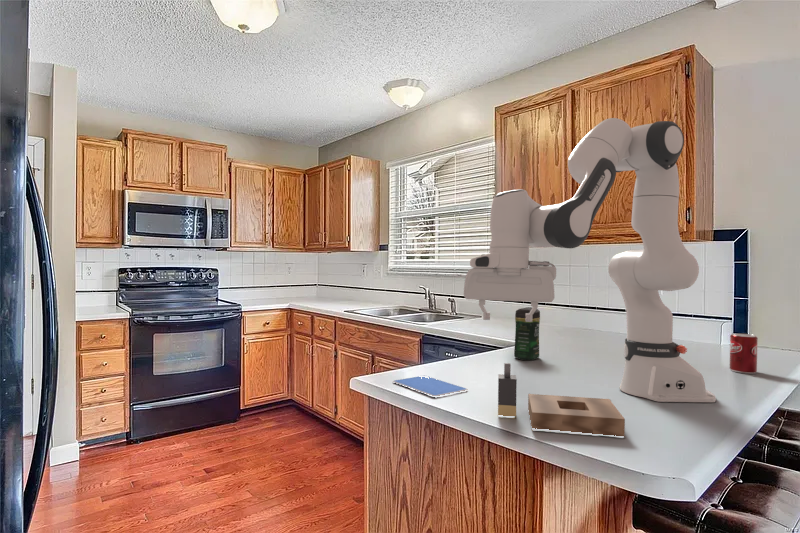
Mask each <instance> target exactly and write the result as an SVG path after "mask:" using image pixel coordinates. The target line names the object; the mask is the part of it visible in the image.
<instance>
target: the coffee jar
mask: <svg viewBox="0 0 800 533" xmlns="http://www.w3.org/2000/svg"><path fill="white" fill-rule="evenodd" d="M532 308H533V307H532V306H531V307H530V306H527V307H521V308H518V309H516V311H515V316H514V320H515V321H514V322H515V333H514V334H515V336H514V349H513V350H514V354H513V356H514V358H516V359H518V360H521V361H525V360H527V361H533V360H537V359H538V358H539V357H540V321H541V312H540V310H539V308H537V309H536V311H535V312H534V314H532V322H526V321H525V318H526V316H525V315H526V313H530V311H531V310H532Z"/></svg>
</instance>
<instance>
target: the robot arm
mask: <svg viewBox="0 0 800 533" xmlns="http://www.w3.org/2000/svg"><path fill="white" fill-rule="evenodd" d="M684 144H685V138H684V133H683V130H682V129H681V127H680V126H679V124H677V123H676V122H674V121H670V120H659V121H655V122H653V123H646V124H641V125H640V124H639V125H636V126H634V127H631V125H630V124H628V123H627V122H626V121H624V120H623V119H621V118H618V117H617V118H616V117H611V118H606V119H604V120H601V121H600V122H599V123H598V124H597V125H595V126H594V127H593V128H592V129H591V130H590V131H588V133H587V134H586V135H585V136H584V137H582V139H581V140H580V141H579V142H578V143H577V145H576V146H575V147H574V148H573V150H572V152H571V153H570V155H569V157H568V159H567V168H568V172H569V174H570V175H571V177H572V179H573V180H574V181H575V182H576V183H578V184H579V185H580V186H579V187H578V189H577V190H576V192H575V194H574V195H573V197H572V198H570V199H568V200H565V201H564V202H563V201H562V202H560V203H555V204H549V205H543V204H540V203H538V202H537V201H535V200H534V199H533V198H531V196H530V195H529V193H528V191H527V190H525V189H521V188H520V189H512V190H506V191H503V192H498V193H497V194H496V195H494V196H493V199H492V201H491V202H492V203H491V208H490V218H489V220H490V222H489V224H490V225H489V228H490V234H491V240H490V244H489V253H484V254H483V253H482V254H481V255H477V256H475V257H472V258H470V261H469V265H470V267H471V268H470V269H469V270H468V271H467V273H466V276H465V279H464V288H463V297H464V298H465V300H472V301H473V300H475V301H476V300H478V306H479V307H480V309H481V311H482V312H483V321H491V311H487V309H486V308H485V305H486V301H496V302H497V301H500V302H501V301H502V302H529V303H530V306H531V307H532V310H531V311H530V313H526V315H525V316H526V318H525V321H526V322H532V314H534V312H535V311H536V309H538V307H539V303H552V302H553V301H554V300H555V284H554V280H556V277H557V268H556V266H555V265H554V264H553V263H551V262H550V261H545V260H544V261H540V260H539V261H537V260H530V248H531V247H532V248H561V249H576V248H578V247H580V246H582V245H583V243H584V242H585V241H586V240H587V239H588V237H589V234H590V232H591V229H592V225H593V221H594V220H595V217H596V215H597V213H598V211H599V209H600V207H601V206H602V205H603V202H605V199H606V197H607V196H608V193H609V192H610V191H611V189H612V186H613V184H614V183H615V180H616V176H617V173H622V172H628V171H629V172H630V171H634V173H635V175H636V176H635V177H636V178H635V182H634V189H633V195H632V196H633V197H632V205H631V206H632V207H631V208H632V209H631V220H630V222H631V224H630V225H631V227H632V229H633V230H634V232H636V233H637V234H639V236H640V238H641V241H642V244H643V245H642V246H643V249H630V250H625V251H622V252H619V253H616V254H614V255H613V256H612V257H611V259H610V261H609V263H608V269H607V270H608V275H609V277H610V279H611V281H613V282H614V283H615V284H616V286H617V287H618V289H619V291H620V294H621V296H622V300H623V302H624V306H625V312H626V338H625V339H624V345H623V348H624V349H623V350H624V351H623V353H624V354H623V356H624V359H625V360H624V361H625V362H624V367H623V368H624V369H623V372H622V373H623V374H622V378H621V382H620V385H619V391H622V392H623V393H626V394H629V395H632V396H636V397H640V398H645V399H647V400H650V401H655V402H658V403H660V402H661V403H662V402H663V403H715V402H716V401H717V399H716V396H715V394H714V393H712V391H709V390H708V389H707V388H706V382H705V379H704V376H703V375H702V373H701V372H700V371H699V370H698V369H697V368H695V367H694V366H692V364H690V363H689V362H687V360H685V359H684V358H682V357H681V356H680V355H681V354H683V355H685V354H686V353H687V352H688V348H687V347H686V346H684V345H682V344H678V343H676V342H674V341H673V326H674V324H673V323H674V322H673V321H674V320H673V318H674V316H673V313H672V311H671V309H670V308H669V307H667V306H666V304H665V303H664V302H663V300H662V299H661V296H660V294H659V291H665V292H673V291H680V290H685V289H689V288H691V287H692V286H693V285H694V284H695V283H696V281H697V279H698V278H699V273H700V266H699V263H698V260H697V259H696V258H695V256H694V255H693V254H692V253H691V252H689V250H687V248H686V246H685V244H684V243H683V241H682V239H681V238H682V237H681V235H680V231H679V203H680V202H679V200H680V177H679V170H678V165H677V162H678V160H679V158H680V156H681V154H682V152H683V148H684Z"/></svg>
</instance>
